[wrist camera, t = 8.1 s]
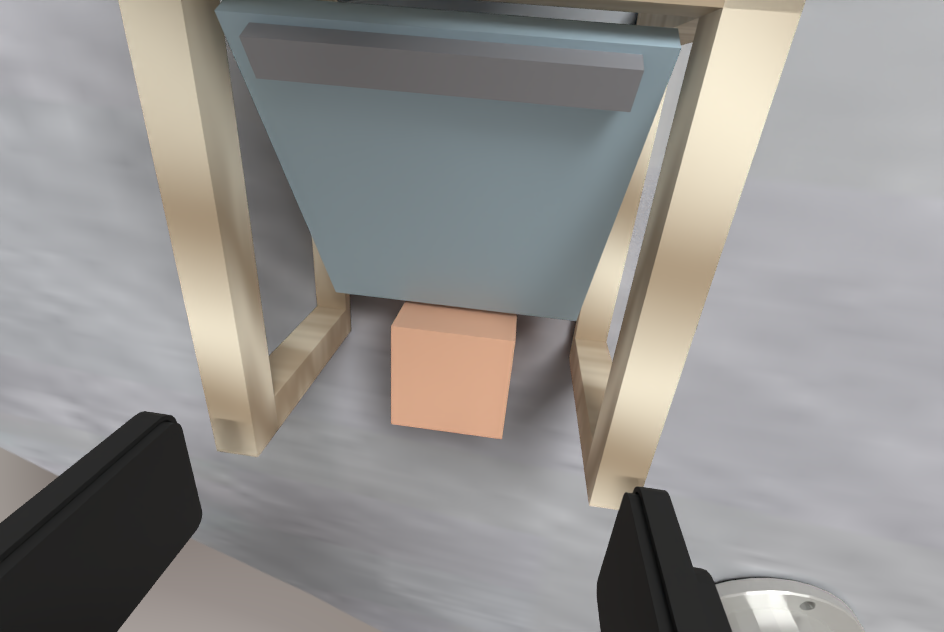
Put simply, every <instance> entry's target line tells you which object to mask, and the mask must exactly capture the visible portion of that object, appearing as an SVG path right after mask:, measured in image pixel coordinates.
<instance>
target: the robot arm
mask: <svg viewBox="0 0 944 632" xmlns="http://www.w3.org/2000/svg"><path fill="white" fill-rule="evenodd" d="M201 519H202V509H201V505H200V501H199V497H198V492H197V488H196V484H195V480H194V476H193V472H192V467H191V463H190V459H189V455H188V451H187V447H186V442H185V438H184V434H183V430H182V427H181V425H180V424H178V423H177V421H176V419H175V418H174V417H173V416H171V415H166V414H159V413H153V412H146V411H144V412H140V413H138V414H137V415H135V416H134V417H133V418H131V419H130V420H129V421H128V422H126V423H125V424H124V425H123V426H121V427H120V428H119V429H118V430H116V431H115V432H114V433H113V434H111V435H110V436H109V437H108V438H106V439H105V440H104V441H103V442H101V443H100V444H99V445H98V446H96V447H95V448H94V449H93V450H91V451H90V452H89V453H88V454H86V455H85V456H84V457H83V458H81V459H80V460H79V461H78V462H76V463H75V464H74V465H72V466H71V467H70V468H69V469H67V470H66V471H65V472H64V473H62V474H61V475H60V476H59V477H57V478H56V479H55V480H54V481H52V482H51V483H50V484H49V485H48V486H46V487H45V488H44V489H43V490H41V491H40V492H39V493H38V494H36V495H35V496H34V497H33V498H31V499H30V500H29V501H28V502H26V503H25V504H24V505H23V506H21V507H20V508H19V509H17V510H16V511H15V512H14V513H12V514H11V515H10V516H9V517H7V518H6V519H5V520H4V521H3V522H1V523H0V632H117V631H118V630H119V628H120V627H121V626H122V625H123V623H124V622H125V621H126V620H127V618H128V617H129V616H130V614H131V613H132V612H133V610H134V609H135V608H136V607H137V605H138V604H139V603H140V602H141V600H142V599H143V598H144V597H145V595H146V594H147V593H148V591H149V590H150V589H151V588H152V586H153V585H154V584H155V582H156V581H157V580H158V578H159V577H160V576H161V574H162V573H163V572H164V571H165V570H166V568H167V567H168V566H169V565H170V563H171V562H172V561H173V559H174V558H175V557H176V555H177V554H178V553H179V552H180V550H181V549H182V548H183V547H184V545H185V544H186V543H187V542H188V540H189V539H190V538H191V536H192V535H193V534H194V533H195V531H196V530H197V528H198V527H199V524H200V522H201ZM597 603H598V612H599V620H600V629H601V632H865V631H864V629H863V627H862V625H861V624H860V622H859V621H858V619H857V617H856V616H855V614H854V613H853V611H852V610H851V609H850V608H849V607H848V606H847V605H846V604H845V603H844V602H843V601H842V600H841V599H839V598H837V597H836V596H834V595H833V594H831V593H829V592H827V591H825V590H822V589H820V588H817V587H815V586H813V585H809V584H805V583H801V582H797V581H793V580H786V579H777V578H747V579H739V580H731V581H727V582H723V583H719V584H715V583H714V581H713V579H712V577H711V575H710V574H709V573H708V572H707V570H704V569H701V568H695V567H693V566H692V563H691V560H690V557H689V554H688V550H687V547H686V544H685V541H684V538H683V535H682V532H681V529H680V526H679V523H678V520H677V517H676V514H675V511H674V508H673V505H672V502H671V499H670V496H669V494H668V492H667V491H665V490H658V489H652V488H645V487H639V486H636V487H635V488H634V490H633V493H628V492H625V493H624V495H623V498H622V501H621V504H620V508H619V511H618V514H617V518H616V521H615V524H614V527H613V531H612V534H611V537H610V541H609V544H608V547H607V551H606V554H605V557H604V560H603V564H602V567H601V570H600V574H599V577H598V581H597Z"/></svg>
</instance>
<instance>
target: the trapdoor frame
mask: <svg viewBox="0 0 944 632" xmlns="http://www.w3.org/2000/svg"><path fill="white" fill-rule="evenodd" d="M320 1H333V2H337V0H320ZM478 1H491V2H504V3H517V4H531V5H544V6H557V7H570V8H583V9H596V10H609V11H622V12H635V13H638V17H637V22H636V25H641V26H653V27H666V28H678V31H679V37H680V43H681V45H684V44H688V43H691V42H693V44H692V48H691V52H690V56H689V60H688V64H687V68H686V72H685V76H684V80H683V84H682V88H681V92H680V95H679V99H678V103H677V107H676V111H675V115H674V119H673V123H672V127H671V131H670V135H669V139H668V143H667V147H666V151H665V155H664V159H663V163H662V167H661V171H660V175H659V179H658V183H657V187H656V191H655V195H654V199H653V203H652V207H651V211H650V215H649V219H648V223H647V227H646V231H645V235H644V239H643V243H642V246H641V250H640V254H639V258H638V262H637V266H636V270H635V274H634V278H633V282H632V286H631V290H630V294H629V298H628V302H627V306H626V310H625V314H624V318H623V322H622V326H621V330H620V334H619V338H618V342H617V346H616V350H615V354H614V358H613V362H612V360H611V357H610V353H609V350H608V346H607V343H606V340H607V336H608V332H609V328H610V323H611V319H612V315H613V311H614V307H615V303H616V298H617V294H618V290H619V286H620V282H621V277H622V273H623V269H624V265H625V261H626V257H627V252H628V248H629V244H630V240H631V236H632V231H633V227H634V223H635V219H636V215H637V210H638V206H639V202H640V198H641V194H642V190H643V185H644V181H645V177H646V173H647V169H648V164H649V160H650V156H651V152H652V148H653V144H654V139H655V135H656V131H657V127H658V123H659V118H660V114H661V110H662V106H663V102H664V98H665V93H666V89H667V87H666V89H665V92H664V95H663V97H662V100H661V102H660V105H659V108H658V110H657V113H656V115H655V118H654V121H653V123H652V126H651V128H650V131H649V134H648V136H647V139H646V141H645V144H644V146H643V149H642V152H641V154H640V157H639V159H638V162H637V165H636V167H635V170H634V172H633V175H632V178H631V180H630V183H629V185H628V188H627V191H626V193H625V196H624V198H623V201H622V204H621V206H620V209H619V211H618V214H617V217H616V219H615V222H614V224H613V227H612V230H611V232H610V235H609V237H608V240H607V243H606V245H605V248H604V250H603V253H602V256H601V258H600V261H599V263H598V266H597V269H596V271H595V274H594V276H593V279H592V282H591V284H590V287H589V289H588V292H587V295H586V297H585V300H584V302H583V305H582V308H581V310H580V313H579V315H578V318H577V321H576V325H575V330H574V335H573V340H572V345H571V350H570V355H569V361H570V369H571V376H572V383H573V391H574V398H575V405H576V413H577V420H578V427H579V435H580V442H581V449H582V457H583V464H584V472H585V479H586V486H587V494H588V501H589V506H595V507H602V508H609V509H615V510H619V508H620V504H621V501H622V498H623V495H624V493H625V492H628V493H633V490H634V488H635V487H636V486H639V487H643V486H644V483H645V480H646V477H647V474H648V471H649V468H650V465H651V462H652V459H653V456H654V453H655V450H656V447H657V444H658V441H659V438H660V435H661V432H662V429H663V426H664V423H665V420H666V417H667V414H668V411H669V408H670V405H671V402H672V399H673V396H674V393H675V390H676V387H677V384H678V381H679V378H680V375H681V372H682V369H683V366H684V363H685V360H686V357H687V354H688V351H689V348H690V345H691V342H692V339H693V336H694V333H695V330H696V328H697V325H698V322H699V319H700V316H701V313H702V310H703V307H704V304H705V301H706V298H707V295H708V292H709V289H710V286H711V283H712V280H713V277H714V274H715V271H716V268H717V265H718V262H719V259H720V256H721V253H722V250H723V247H724V244H725V241H726V238H727V235H728V232H729V229H730V226H731V223H732V220H733V217H734V214H735V211H736V208H737V205H738V202H739V199H740V196H741V193H742V190H743V187H744V184H745V181H746V178H747V175H748V172H749V169H750V166H751V163H752V160H753V157H754V154H755V151H756V148H757V145H758V142H759V139H760V136H761V133H762V130H763V127H764V124H765V121H766V118H767V115H768V112H769V109H770V106H771V103H772V100H773V97H774V94H775V91H776V88H777V85H778V82H779V79H780V76H781V73H782V70H783V67H784V64H785V61H786V58H787V55H788V52H789V49H790V46H791V43H792V40H793V37H794V34H795V31H796V28H797V25H798V22H799V19H800V16H801V13H802V10H803V7H804V4H805V1H806V0H478ZM118 2H119V6H120V11H121V15H122V20H123V24H124V29H125V33H126V38H127V43H128V47H129V52H130V56H131V61H132V65H133V70H134V74H135V79H136V84H137V88H138V93H139V97H140V102H141V106H142V111H143V116H144V120H145V125H146V129H147V134H148V138H149V143H150V147H151V152H152V157H153V161H154V166H155V170H156V175H157V179H158V184H159V189H160V193H161V198H162V202H163V207H164V211H165V216H166V220H167V225H168V230H169V234H170V239H171V243H172V248H173V252H174V257H175V261H176V266H177V271H178V275H179V280H180V284H181V289H182V293H183V298H184V303H185V307H186V312H187V316H188V321H189V325H190V330H191V334H192V339H193V344H194V348H195V353H196V357H197V362H198V366H199V371H200V375H201V380H202V385H203V389H204V394H205V398H206V403H207V407H208V412H209V417H210V421H211V426H212V430H213V435H214V439H215V444H216V448H217V451H220V452H226V453H233V454H240V455H247V456H254V457H258V456H259V455H260V454H261V452H262V451H263V450H264V448H265V447H266V446H267V444H268V443H269V441H270V440H271V439H272V437H273V436H274V435H275V433H276V432H277V431H278V429H279V428H280V427H281V425H282V424H283V422H284V421H285V420H286V418H287V417H288V416H289V414H290V413H291V412H292V410H293V409H294V407H295V406H296V405H297V403H298V402H299V401H300V399H301V398H302V397H303V395H304V394H305V392H306V391H307V390H308V388H309V387H310V386H311V384H312V383H313V382H314V380H315V379H316V378H317V376H318V375H319V373H320V372H321V371H322V369H323V368H324V367H325V365H326V364H327V363H328V361H329V360H330V358H331V357H332V356H333V354H334V353H335V352H336V350H337V349H338V348H339V346H340V345H341V343H342V342H343V341H344V339H345V338H346V337H347V335H348V334H349V333H350V331H351V313H350V294H347V293H338V292H336V291H335V289H334V286H333V284H332V282H331V280H330V277H329V275H328V273H327V270H326V268H325V266H324V263H323V261H322V259H321V256H320V254H319V252H318V249H317V247H316V245H315V243H314V240H313V238H312V246H313V259H314V271H315V284H316V297H317V307H316V308H315V309H314V310H313V311H312V312H311V313H310V314H309V315H308V316H307V317H306V318H305V319H304V320H303V321H302V322H301V323H300V325H299V326H298V327H297V328H296V329H295V330H294V331H293V332H292V333H291V334H290V335H289V336H288V337H287V338H286V339H285V340H284V341H283V342H282V343H281V344H280V345H279V346H278V347H277V348H276V349H275V350H274V351H273V352H272V353H271V354H270V356H269V355H268V348H267V341H266V334H265V326H264V319H263V312H262V305H261V297H260V290H259V283H258V275H257V268H256V261H255V254H254V246H253V239H252V232H251V225H250V217H249V210H248V203H247V196H246V188H245V181H244V174H243V167H242V159H241V152H240V145H239V137H238V130H237V123H236V116H235V108H234V101H233V94H232V87H231V79H230V72H229V65H228V58H227V50H226V43H225V36H224V32H223V30H222V27H221V25H220V23H219V20H218V18H217V16H216V13H215V11H214V10H215V9H216V8H217V7H218V5H219V4H220V0H118ZM667 85H668V84H667Z"/></svg>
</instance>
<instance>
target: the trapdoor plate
mask: <svg viewBox="0 0 944 632" xmlns="http://www.w3.org/2000/svg"><path fill="white" fill-rule="evenodd" d="M214 11H215V13H216V16H217V18H218V20H219V23H220V25H221V27H222V30H223V32H224V34H225V37H226V39H227V41H228V44H229V46H230V48H231V50H232V53H233V55H234V57H235V60H236V62H237V64H238V67H239V69H240V71H241V74H242V76H243V78H244V81H245V83H246V85H247V87H248V90H249V92H250V94H251V97H252V99H253V101H254V104H255V106H256V108H257V111H258V113H259V115H260V118H261V120H262V122H263V125H264V127H265V129H266V131H267V134H268V136H269V138H270V141H271V143H272V145H273V148H274V150H275V152H276V155H277V157H278V159H279V162H280V164H281V166H282V168H283V171H284V173H285V175H286V178H287V180H288V182H289V185H290V187H291V189H292V192H293V194H294V196H295V199H296V201H297V203H298V205H299V208H300V210H301V212H302V215H303V217H304V219H305V222H306V224H307V226H308V229H309V231H310V233H311V236H312V238H313V240H314V243H315V245H316V247H317V249H318V252H319V254H320V256H321V259H322V261H323V263H324V266H325V268H326V270H327V273H328V275H329V277H330V280H331V282H332V284H333V286H334V289H335V291H336V292H338V293H347V294H355V295H363V296H372V297H380V298H388V299H396V300H405V301H413V302H421V303H430V304H438V305H446V306H454V307H463V308H471V309H479V310H488V311H496V312H504V313H512V314H521V315H529V316H537V317H546V318H554V319H562V320H570V321H577V318H578V315H579V313H580V310H581V308H582V305H583V302H584V300H585V297H586V295H587V292H588V289H589V287H590V284H591V282H592V279H593V276H594V274H595V271H596V269H597V266H598V263H599V261H600V258H601V256H602V253H603V250H604V248H605V245H606V243H607V240H608V237H609V235H610V232H611V230H612V227H613V224H614V222H615V219H616V217H617V214H618V211H619V209H620V206H621V204H622V201H623V198H624V196H625V193H626V191H627V188H628V185H629V183H630V180H631V178H632V175H633V172H634V170H635V167H636V165H637V162H638V159H639V157H640V154H641V152H642V149H643V146H644V144H645V141H646V139H647V136H648V134H649V131H650V128H651V126H652V123H653V121H654V118H655V115H656V113H657V110H658V108H659V105H660V102H661V100H662V97H663V95H664V92H665V89H666V87H667V84H668V82H669V79H670V76H671V74H672V71H673V69H674V66H675V63H676V61H677V58H678V56H679V53H680V50H681V43H680V37H679V31H678V28H666V27H653V26H641V25H628V24H615V23H602V22H589V21H577V20H564V19H551V18H538V17H525V16H513V15H500V14H487V13H474V12H461V11H448V10H436V9H423V8H410V7H397V6H384V5H372V4H359V3H346V2H333V1H320V0H222V2H221V3H220V4H219V5H218V7H217V8H216V9H215V10H214Z"/></svg>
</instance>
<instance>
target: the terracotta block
mask: <svg viewBox="0 0 944 632" xmlns="http://www.w3.org/2000/svg"><path fill="white" fill-rule="evenodd" d="M516 323H517V314H512V313H504V312H496V311H488V310H479V309H471V308H463V307H454V306H446V305H438V304H430V303H421V302H413V301H405V303H404V305H403V306H402V308H401V310H400V312H399V313H398V315H397V317H396V318H395V320H394V322H393V324H392V325H391V424H395V425H402V426H409V427H417V428H424V429H431V430H439V431H446V432H453V433H460V434H468V435H475V436H482V437H489V438H497V439H502V434H503V427H504V420H505V413H506V406H507V398H508V391H509V384H510V377H511V369H512V362H513V355H514V348H515V339H516Z"/></svg>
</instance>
